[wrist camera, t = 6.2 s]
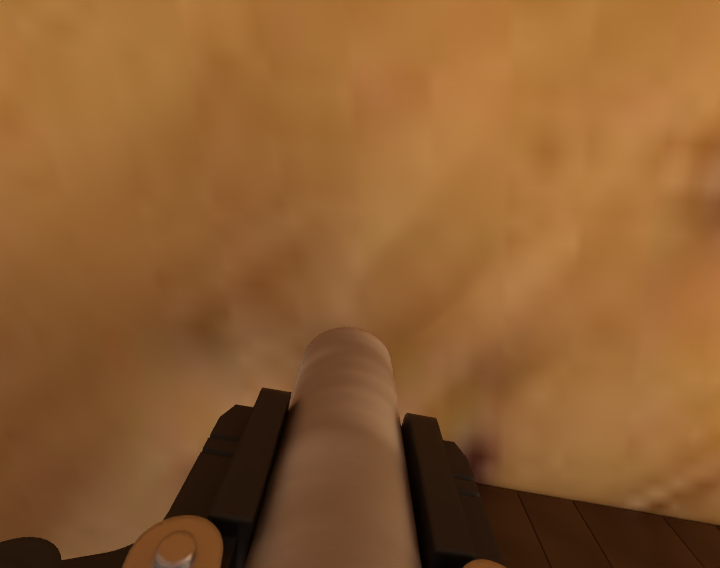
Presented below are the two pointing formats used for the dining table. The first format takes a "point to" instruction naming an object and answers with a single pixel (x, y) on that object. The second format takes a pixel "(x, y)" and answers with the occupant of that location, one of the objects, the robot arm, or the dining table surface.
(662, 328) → the dining table surface
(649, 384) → the dining table surface
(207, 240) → the dining table surface
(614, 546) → the dark brown hollow block
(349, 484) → the peg
